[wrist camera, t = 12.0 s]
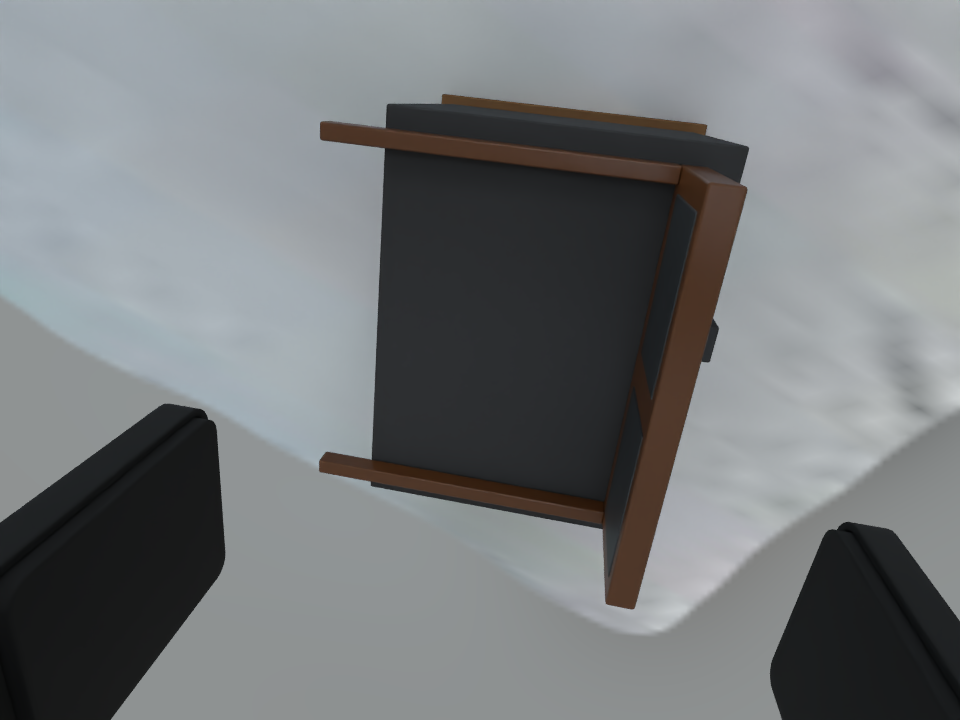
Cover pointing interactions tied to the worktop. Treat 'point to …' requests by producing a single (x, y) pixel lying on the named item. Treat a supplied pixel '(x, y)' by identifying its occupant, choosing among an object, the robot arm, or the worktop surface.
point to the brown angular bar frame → (660, 360)
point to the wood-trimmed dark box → (519, 294)
